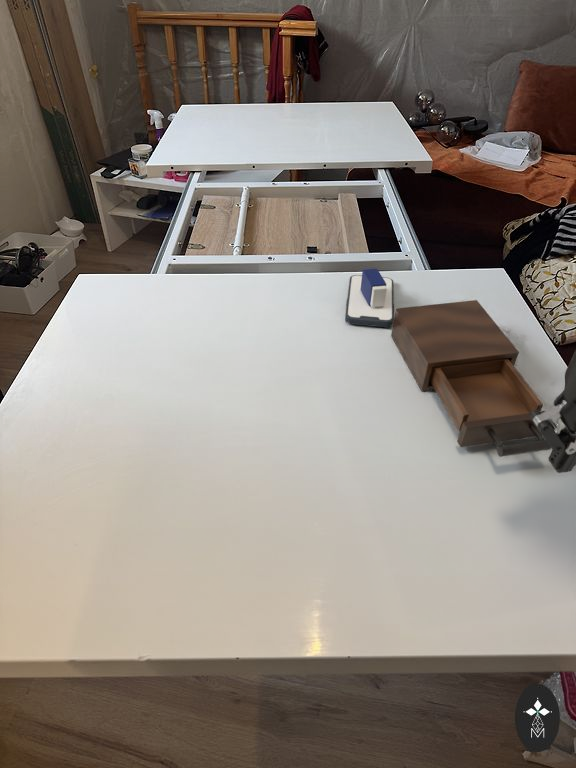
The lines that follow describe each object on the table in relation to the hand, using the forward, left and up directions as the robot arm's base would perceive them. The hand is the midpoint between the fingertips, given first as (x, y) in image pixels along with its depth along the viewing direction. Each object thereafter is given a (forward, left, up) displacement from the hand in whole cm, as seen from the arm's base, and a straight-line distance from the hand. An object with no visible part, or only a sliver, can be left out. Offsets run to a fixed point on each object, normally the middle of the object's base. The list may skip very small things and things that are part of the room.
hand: (559, 466), depth 63 cm
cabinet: (0, -30, -7) cm, 31 cm away
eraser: (+8, -47, -5) cm, 48 cm away
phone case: (+8, -48, -7) cm, 49 cm away
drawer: (0, -14, -6) cm, 16 cm away
